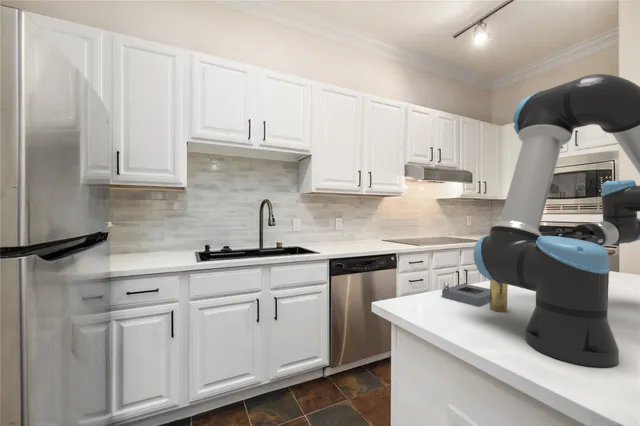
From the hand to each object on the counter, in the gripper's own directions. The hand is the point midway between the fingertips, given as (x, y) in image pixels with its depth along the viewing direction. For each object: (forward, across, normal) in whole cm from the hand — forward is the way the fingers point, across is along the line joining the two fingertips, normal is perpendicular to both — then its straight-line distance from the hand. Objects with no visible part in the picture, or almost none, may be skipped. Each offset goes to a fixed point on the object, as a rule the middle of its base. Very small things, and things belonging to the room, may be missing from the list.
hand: (531, 244), depth 88 cm
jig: (+13, +11, -18) cm, 25 cm away
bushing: (+13, 0, -18) cm, 22 cm away
